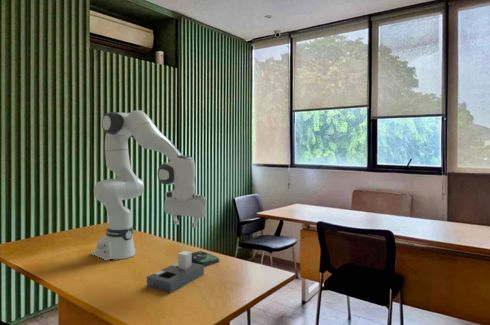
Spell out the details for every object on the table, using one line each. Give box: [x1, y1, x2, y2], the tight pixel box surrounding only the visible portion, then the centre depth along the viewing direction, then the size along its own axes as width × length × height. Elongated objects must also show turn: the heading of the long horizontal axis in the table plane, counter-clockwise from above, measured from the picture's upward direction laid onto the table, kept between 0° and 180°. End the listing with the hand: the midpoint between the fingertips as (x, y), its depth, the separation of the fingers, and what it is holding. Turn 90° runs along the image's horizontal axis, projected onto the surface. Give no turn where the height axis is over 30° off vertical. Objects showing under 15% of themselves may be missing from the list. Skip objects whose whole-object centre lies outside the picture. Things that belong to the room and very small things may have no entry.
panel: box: [146, 262, 205, 294], centre depth 143 cm, size 12×22×4 cm, turn 152°
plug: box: [177, 250, 193, 270], centre depth 148 cm, size 4×5×10 cm
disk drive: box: [192, 250, 220, 268], centre depth 167 cm, size 10×3×15 cm
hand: (185, 225), depth 147 cm, fingers open, 8 cm apart
